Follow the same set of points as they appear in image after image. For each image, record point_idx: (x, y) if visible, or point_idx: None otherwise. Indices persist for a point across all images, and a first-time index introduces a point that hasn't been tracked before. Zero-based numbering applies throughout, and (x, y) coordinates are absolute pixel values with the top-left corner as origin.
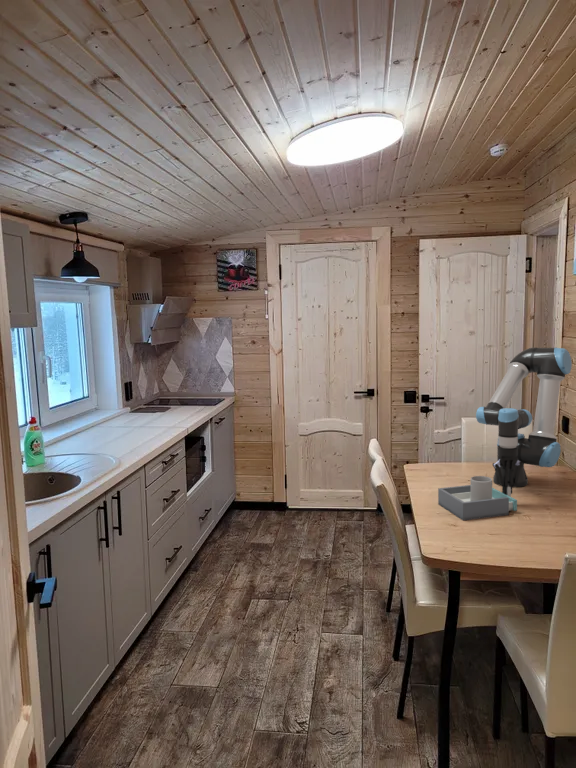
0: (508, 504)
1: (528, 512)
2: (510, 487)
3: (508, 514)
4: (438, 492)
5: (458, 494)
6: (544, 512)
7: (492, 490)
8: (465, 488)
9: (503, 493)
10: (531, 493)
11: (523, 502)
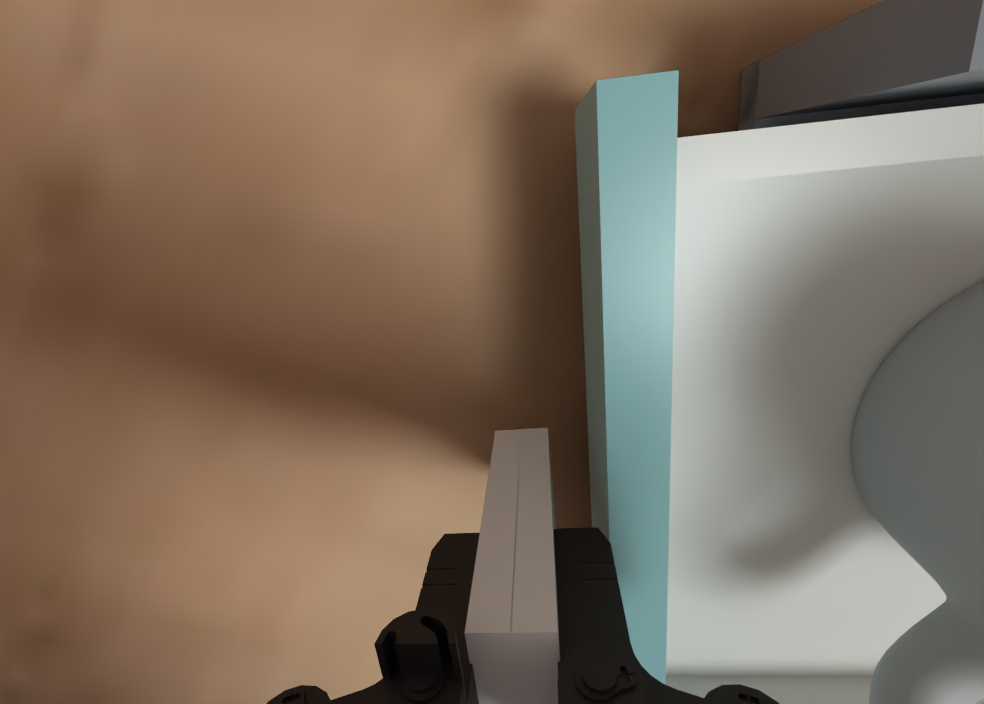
0: (855, 18)
1: (379, 121)
2: (478, 624)
3: (747, 67)
4: None
5: None
6: (149, 68)
7: None
8: None
9: (617, 552)
10: (103, 671)
11: (282, 482)
